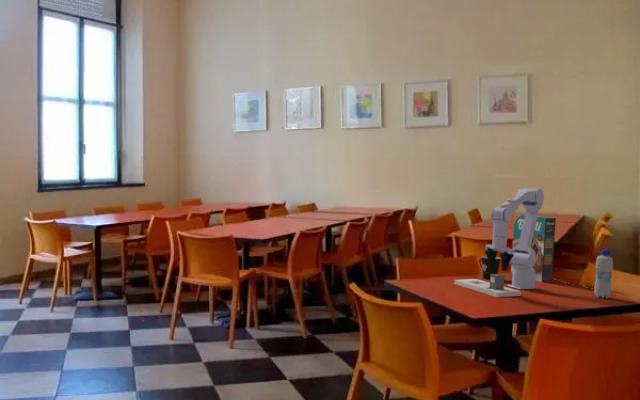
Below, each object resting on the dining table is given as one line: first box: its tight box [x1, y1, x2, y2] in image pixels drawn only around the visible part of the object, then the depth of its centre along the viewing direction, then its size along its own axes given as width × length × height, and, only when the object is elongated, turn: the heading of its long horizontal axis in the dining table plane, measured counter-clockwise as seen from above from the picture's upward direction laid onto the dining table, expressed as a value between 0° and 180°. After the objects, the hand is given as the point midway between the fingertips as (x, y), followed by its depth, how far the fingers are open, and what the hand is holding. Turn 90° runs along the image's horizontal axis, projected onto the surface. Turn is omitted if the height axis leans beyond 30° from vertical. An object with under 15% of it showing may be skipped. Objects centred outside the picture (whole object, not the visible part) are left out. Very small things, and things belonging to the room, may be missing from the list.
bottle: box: [593, 249, 614, 299], centre depth 256 cm, size 7×7×20 cm
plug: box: [489, 273, 505, 290], centre depth 256 cm, size 4×4×8 cm
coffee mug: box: [478, 255, 501, 281], centre depth 292 cm, size 12×9×10 cm
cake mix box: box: [510, 213, 557, 283], centre depth 298 cm, size 22×6×30 cm, turn 22°
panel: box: [454, 278, 522, 298], centre depth 262 cm, size 12×28×2 cm, turn 25°
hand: (498, 268), depth 256 cm, fingers open, 7 cm apart
